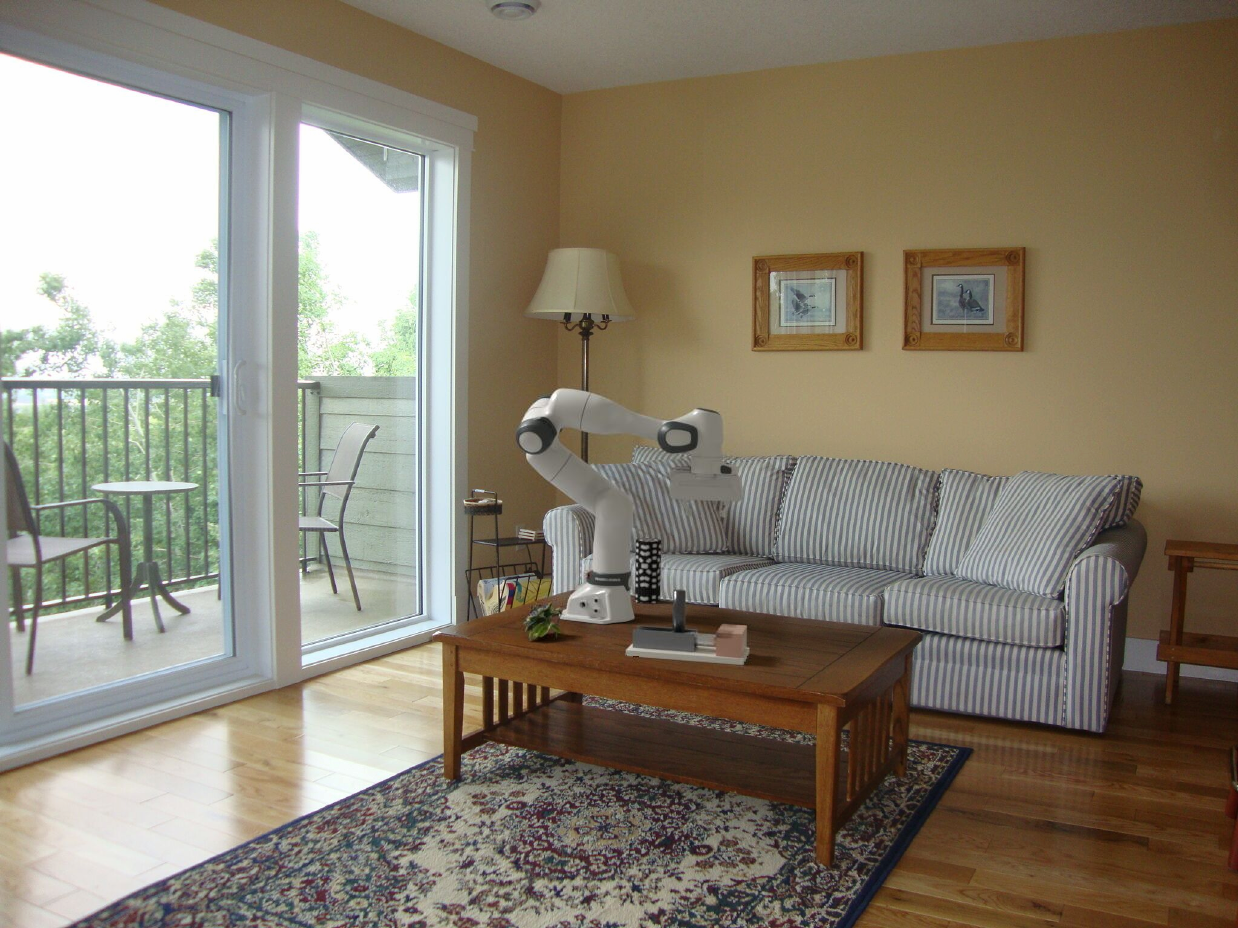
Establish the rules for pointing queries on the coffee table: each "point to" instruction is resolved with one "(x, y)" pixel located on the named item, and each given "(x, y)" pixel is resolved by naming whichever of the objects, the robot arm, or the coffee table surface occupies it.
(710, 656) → the base board
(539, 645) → the coffee table surface
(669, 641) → the grey guide channel
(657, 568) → the white-spotted black cylinder
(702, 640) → the slide bolt
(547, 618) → the passion flower
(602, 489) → the robot arm
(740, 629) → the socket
